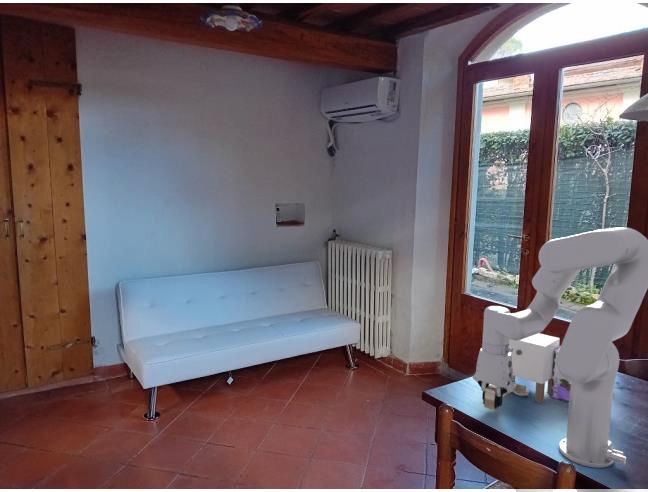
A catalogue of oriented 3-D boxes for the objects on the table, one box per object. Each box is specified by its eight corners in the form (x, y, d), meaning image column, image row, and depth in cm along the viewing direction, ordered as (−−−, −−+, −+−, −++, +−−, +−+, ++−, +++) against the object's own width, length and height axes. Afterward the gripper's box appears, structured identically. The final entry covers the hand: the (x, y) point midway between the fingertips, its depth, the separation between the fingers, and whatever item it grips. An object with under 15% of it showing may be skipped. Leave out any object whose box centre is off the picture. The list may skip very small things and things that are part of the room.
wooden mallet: (498, 411, 145) (499, 393, 144) (479, 405, 149) (480, 386, 148) (525, 392, 158) (526, 375, 158) (508, 386, 163) (509, 369, 162)
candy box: (550, 397, 159) (553, 349, 157) (556, 391, 164) (559, 345, 161) (596, 411, 150) (601, 360, 148) (601, 405, 154) (606, 355, 152)
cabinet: (555, 392, 163) (559, 338, 161) (539, 404, 154) (544, 347, 152) (509, 378, 175) (513, 327, 172) (492, 388, 166) (495, 335, 163)
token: (531, 393, 163) (531, 390, 163) (524, 398, 159) (525, 394, 159) (516, 389, 166) (516, 385, 166) (510, 393, 163) (510, 390, 163)
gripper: (527, 351, 143) (523, 410, 145) (476, 338, 154) (473, 392, 157) (516, 357, 137) (512, 418, 140) (464, 343, 149) (461, 400, 151)
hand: (491, 404), depth 148 cm, fingers closed on wooden mallet, 3 cm apart
